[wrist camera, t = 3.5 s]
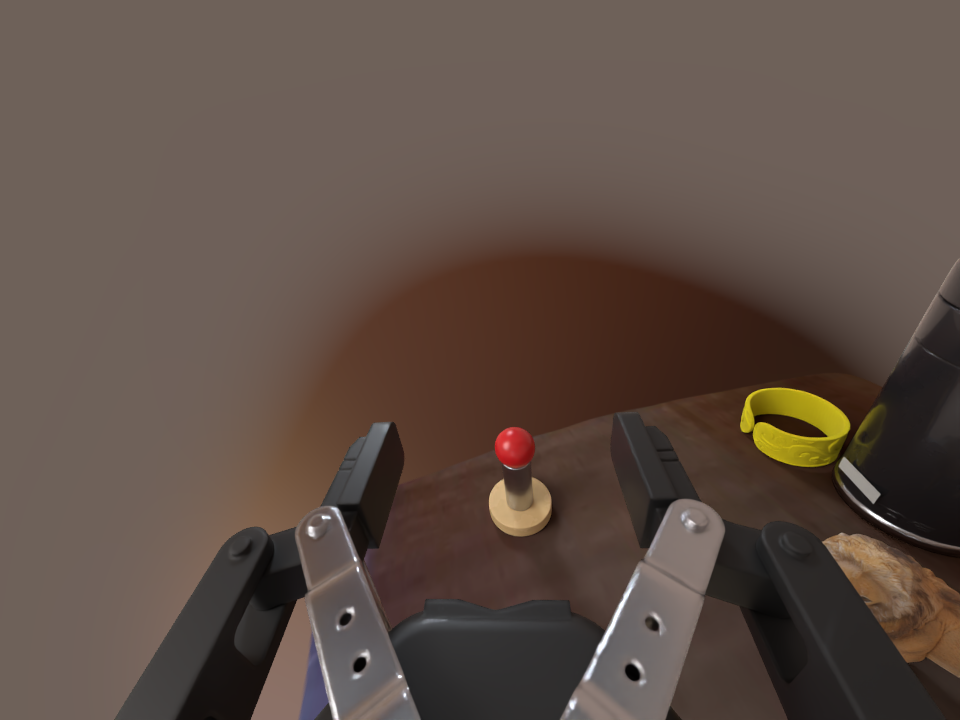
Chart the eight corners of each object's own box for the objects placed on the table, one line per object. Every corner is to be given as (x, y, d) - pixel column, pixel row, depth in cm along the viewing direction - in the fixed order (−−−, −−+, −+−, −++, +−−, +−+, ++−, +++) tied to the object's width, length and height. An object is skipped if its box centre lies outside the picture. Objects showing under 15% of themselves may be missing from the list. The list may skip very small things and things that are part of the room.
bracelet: (795, 407, 40) (803, 382, 38) (863, 461, 33) (877, 433, 31) (725, 416, 40) (730, 392, 39) (778, 472, 33) (787, 445, 32)
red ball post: (529, 474, 37) (524, 400, 32) (564, 517, 32) (565, 439, 27) (479, 499, 35) (466, 426, 30) (509, 548, 31) (500, 472, 26)
